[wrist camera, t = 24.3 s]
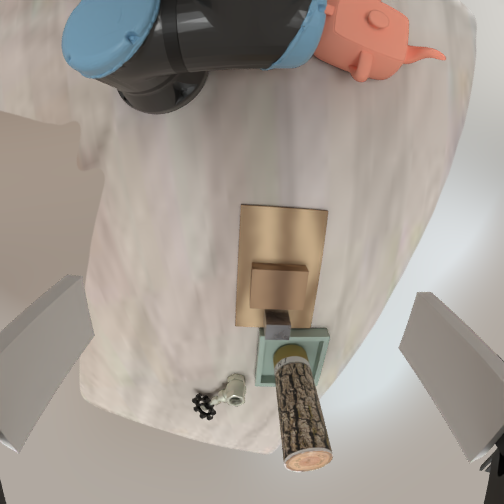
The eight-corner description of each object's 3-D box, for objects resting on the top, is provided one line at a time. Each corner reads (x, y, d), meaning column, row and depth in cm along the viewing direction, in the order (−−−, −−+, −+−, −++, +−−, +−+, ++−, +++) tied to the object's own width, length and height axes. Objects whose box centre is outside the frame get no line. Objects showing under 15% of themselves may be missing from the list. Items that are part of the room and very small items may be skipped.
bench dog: (263, 320, 51) (264, 339, 46) (264, 306, 50) (266, 324, 45) (284, 321, 52) (289, 340, 46) (286, 307, 51) (291, 325, 45)
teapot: (285, 29, 36) (297, -8, 23) (355, 1, 33) (382, -32, 21) (344, 108, 40) (378, 94, 28) (408, 73, 38) (450, 57, 25)
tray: (254, 376, 57) (255, 386, 54) (259, 327, 53) (260, 336, 50) (314, 376, 57) (317, 385, 55) (326, 328, 53) (330, 336, 50)
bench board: (235, 323, 53) (235, 326, 52) (241, 204, 45) (240, 205, 45) (309, 325, 53) (310, 328, 52) (326, 210, 46) (328, 211, 45)
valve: (233, 366, 56) (193, 389, 59) (232, 388, 50) (189, 410, 52) (253, 383, 58) (214, 404, 60) (254, 404, 52) (212, 425, 54)
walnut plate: (249, 299, 50) (249, 308, 47) (251, 262, 48) (252, 269, 45) (300, 301, 50) (303, 310, 47) (305, 264, 48) (308, 271, 45)
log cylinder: (309, 343, 54) (339, 448, 30) (302, 368, 56) (324, 470, 32) (275, 341, 53) (289, 451, 30) (270, 367, 55) (280, 472, 32)
